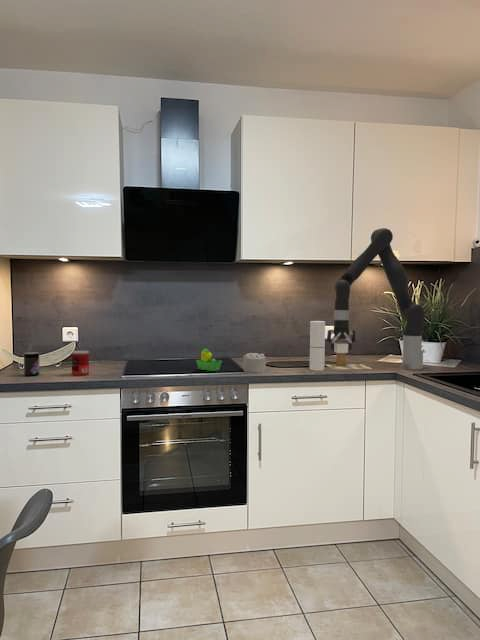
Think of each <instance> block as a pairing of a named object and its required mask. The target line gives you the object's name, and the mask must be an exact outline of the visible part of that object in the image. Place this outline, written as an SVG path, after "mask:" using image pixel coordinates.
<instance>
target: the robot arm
mask: <svg viewBox="0 0 480 640" xmlns="http://www.w3.org/2000/svg"><path fill="white" fill-rule="evenodd" d="M393 236H394V235H393V232H392V231H391V230H390V229H388V228H386V227H385V228H378V229H374V230H373V232H372V233H371V236H370V244H369V245H368V247H367V248H366V249H365V250H364V251H362V253H361V254H360V255H358V257H357V258H355V260H354V261H353V262H352V263H351V264H350V266H349V267H348V268H347V269H346V271H345V272H344V273H343V274H342V275H341V276H340V277H339V278H338V279H337V281H336V282H335V283H334V286H333V287H334V290H335V300H334V312H333V313H334V314H333V330H331V329H329V330H327V336H326V342H328V343H330V350H331V351H332V352H333V351H334V343H336V341H337V340H341V339H342V340H346V341H347V344H348V352H350V351H351V350H352V344H353V343H355V342H356V330H354V329H352V330H350V304H349V300H350V294H351V286H352V285H353V283H354V282H355V281H357V280H358V279H359V278H360V276H361V275H362V274H363V273H364V272H365V271H366V269H367V268H368V267H369V265H370V264H371V263H372V261H374V259H375V258H376V257H377V256H378V257H379V260H380V262H381V265H382V268H383V270H384V272H385V275H386V278H387V280H388V282H389V286H390V288H391V290H392V293H393V295H394V297H395V300H396V302H397V305H398V309H399V313H400V316H401V318H403V320H404V321H406V327H405V328H404V329H403V330H402V359H401V360H402V363H401V369H404V370H412V371H413V370H415V371H417V370H423V369H424V368H423V367H424V365H423V364H424V350H422V346H423V345H422V341H423V340H422V339H423V331H424V328H425V317H426V316H425V315H426V314H425V310H424V307H422V305H419V304H414V301H413V300H412V298H411V295H410V292H409V278H408V275H407V273H406V269H404V268H405V267H404V266H403V264H402V263H401V261H400V260H399V259H398V257H397V256H396V254H395V253H394V251H393V249H392V246H391V243H392V241H393V240H394V239H393ZM349 334H350V335H351V338H350V337H349ZM332 335H333V337H332ZM331 337H332V338H331Z"/></svg>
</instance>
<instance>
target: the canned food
mask: <svg viewBox="0 0 480 640" xmlns="http://www.w3.org/2000/svg"><path fill="white" fill-rule="evenodd" d="M71 374H72V376H73V377H85V376H88V375H89V374H90V350H73V351H71Z"/></svg>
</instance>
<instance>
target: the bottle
mask: <svg viewBox="0 0 480 640" xmlns="http://www.w3.org/2000/svg"><path fill="white" fill-rule="evenodd" d="M346 355H347V353H336V352H335V364H336V366H340V367H343V366H345V364H346V359H347V358H346V357H347V356H346Z"/></svg>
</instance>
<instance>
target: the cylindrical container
mask: <svg viewBox="0 0 480 640" xmlns="http://www.w3.org/2000/svg"><path fill="white" fill-rule="evenodd" d="M309 323H310V324H309V337H310V338H309V373H311V374H312V371H319V372H315V374H321V372H320V371H324V370H325V362H326V361H325V358H326V357H325V356H326V355H325V354H326V353H325V348H326V347H325V346H326V345H325V343H326V341H325V340H326V321H323V320H310V321H309Z"/></svg>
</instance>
